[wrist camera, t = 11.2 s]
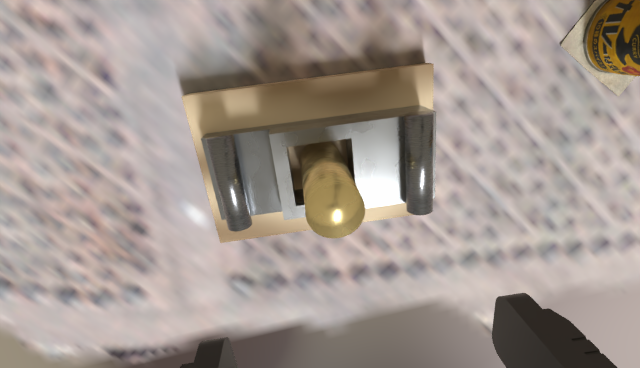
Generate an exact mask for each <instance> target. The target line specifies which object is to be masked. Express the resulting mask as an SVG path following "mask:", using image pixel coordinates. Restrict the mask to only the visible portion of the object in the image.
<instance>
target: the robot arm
mask: <svg viewBox="0 0 640 368" xmlns="http://www.w3.org/2000/svg"><path fill="white" fill-rule="evenodd" d="M492 339H493V344H494V347H495V350H496V352H497V354H498V356H499V357H500V359H501V360H502V362H503V363H504V365H505V366H506V368H617V367H616V366H615V365H614V364H613V363H612V362H611V361H610V360H609V359H608V358H607V357H606V356H605V355H604V354H601V353H600V351H599V349H598V348H597V347H596V346H595V345H594V344H593V343H592V342H591V341H590V340H587V339H586V337H585V336H584V335H583V334H582V333H581V332H580V331H579V330H578V329H577V328H576V327H575V326H574V325H573V324H572V323H571V322H570V321H569V320H567V319H566V318H564V317H562V316H561V315H559V314H557V313H556V312H554V311H552V310H551V309H542V308H541V307H540V306H539V305H538V304H537V303H536V302H535V301H534V300H533V299H532V298H531V297H530V296H529V295H528V294H526V293H520V294H513V295H506V296H500V297H498V298H497V299H496V303H495V312H494V321H493V330H492ZM180 368H238V367H237V363H236V360H235V356H234V353H233V350H232V347H231V343H230V340H229V338H228V337H226V338H220V339H213V340H207V341H202V342H201V343H200V344H199V347H198V350H197V353H196V357H195V360H194V363H189V364H182V366H181V367H180Z"/></svg>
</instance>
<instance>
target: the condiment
mask: <svg viewBox="0 0 640 368" xmlns="http://www.w3.org/2000/svg"><path fill="white" fill-rule="evenodd" d="M561 46H562V47H563V48H564V49H565V50H566V51H567V52H568V53H569V54H570V55H571V56H572V57H574V58H575V59H576V60H577V61H578V62H579V63H580V64H581V65H582V66H583V67H584V68H585V69H587V70H588V71H589V72H590V73H591V74H592V75H594V76H595V77H596V78H597V79H598V80H599V81H600V82H602V83H603V84H604V85H605V86H607V87H608V88H609V89H610V90H611V91H613V92H614V93H615V94H616V95H617V96H619V95H620V94H621V93H622V92H623V91H624V90H625V88H626V87H627V86H628V85H629V84H630V82H631V81H632V80H633V79H634V78H635V76H640V0H595V1H594V2H593V4H592V5H591V6H590V8H589V9H588V10H587V11H586V13H585V14H584V15H583V17H582V18H581V19H580V20H579V21H578V22H577V24H576V25H575V27H574V28H573V29H572V30H571V31H570V33H569V34H568V35H567V36H566V38H565V39H564V41H563V42H562V44H561Z"/></svg>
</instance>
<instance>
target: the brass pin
mask: <svg viewBox="0 0 640 368" xmlns="http://www.w3.org/2000/svg"><path fill="white" fill-rule="evenodd" d="M300 165H301V175H302V185H303V195H304V204H305V214H306V220H307V222H308V224H309V226H310V227H311V229H312V230H313V231H314V232H316V233H317V234H319V235H321V236H323V237H327V238H340V237H344V236H347V235H349V234H351V233H352V232H354V231H355V230H356V229H357V228H358V227H359V226H360V225H361V223H362V221H363V219H364V216H365V203H364V200H363V198H362V196H361V194H360V192H359V190H358V188H357V186H356V184H355V182H354V180H353V178H352V176H351V174H350V172H349V170H348V168H347V166H346V163H345V161H344V159H343V157H342V155H341V153H340V151H339V149H338V148H337V147H336V146H335V145H334V144H333V143H331V142H329V141H327V142H320V143H312V144H308V145H307V146H306V147H305V148H304V149H303V151H302V153H301V157H300Z"/></svg>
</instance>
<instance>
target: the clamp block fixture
mask: <svg viewBox="0 0 640 368" xmlns="http://www.w3.org/2000/svg"><path fill="white" fill-rule="evenodd" d="M182 100H183V104H184V107H185V111H186V115H187V119H188V122H189V126H190V130H191V134H192V137H193V141H194V145H195V149H196V152H197V156H198V160H199V164H200V168H201V171H202V175H203V179H204V183H205V186H206V190H207V194H208V198H209V201H210V205H211V209H212V213H213V216H214V220H215V224H216V228H217V231H218V235H219V239H220V243H223V242H230V241H237V240H244V239H251V238H258V237H264V236H271V235H278V234H285V233H292V232H299V231H306V230H312V229H311V227H310V226H309V224H308V222H307V220H306V214H305V204H304V195H303V185H302V175H301V165H300V157H301V153H302V151H303V149H304V148H305V147H306V146H307V145H308V144H312V143H320V142H327V141H329V142H331V143H333V144H334V145H335V146H336V147H337V148H338V149H339V151H340V153H341V155H342V157H343V159H344V161H345V163H346V166H347V168H348V170H349V172H350V174H351V176H352V178H353V180H354V182H355V184H356V186H357V188H358V190H359V192H360V194H361V196H362V198H363V200H364V203H365V216H364V219H363V221H362V222H367V221H374V220H381V219H388V218H395V217H402V216H409V215H426V214H429V213H431V212H432V210H433V199H435V157H436V112H435V111H433V64H431V63H422V64H414V65H406V66H398V67H391V68H383V69H375V70H367V71H360V72H352V73H344V74H337V75H329V76H321V77H313V78H306V79H298V80H290V81H282V82H275V83H267V84H259V85H252V86H244V87H236V88H228V89H221V90H213V91H205V92H197V93H190V94H186V95H184V96H182Z"/></svg>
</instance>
